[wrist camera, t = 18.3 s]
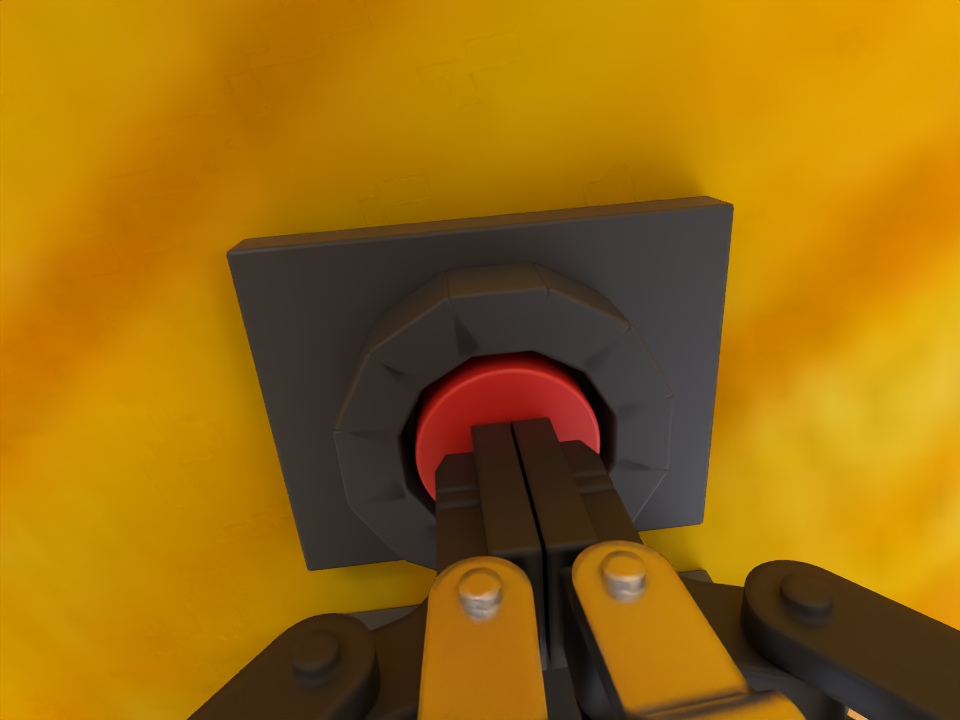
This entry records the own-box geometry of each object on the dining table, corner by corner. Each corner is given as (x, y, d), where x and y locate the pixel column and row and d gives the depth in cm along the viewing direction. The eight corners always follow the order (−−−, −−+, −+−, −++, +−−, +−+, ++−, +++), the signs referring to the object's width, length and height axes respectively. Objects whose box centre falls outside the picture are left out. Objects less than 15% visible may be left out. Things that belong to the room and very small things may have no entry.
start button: (406, 343, 12) (403, 380, 10) (578, 325, 12) (602, 359, 11) (426, 487, 13) (426, 539, 12) (580, 470, 14) (601, 518, 12)
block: (241, 238, 12) (188, 277, 9) (709, 194, 13) (787, 219, 10) (315, 539, 15) (291, 633, 13) (684, 496, 16) (738, 578, 13)
